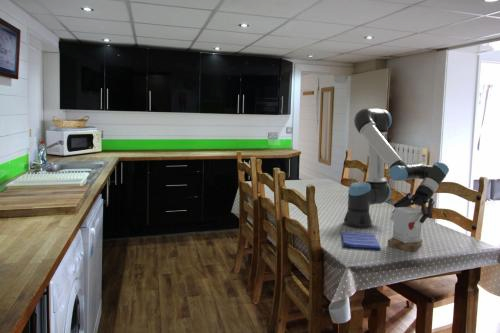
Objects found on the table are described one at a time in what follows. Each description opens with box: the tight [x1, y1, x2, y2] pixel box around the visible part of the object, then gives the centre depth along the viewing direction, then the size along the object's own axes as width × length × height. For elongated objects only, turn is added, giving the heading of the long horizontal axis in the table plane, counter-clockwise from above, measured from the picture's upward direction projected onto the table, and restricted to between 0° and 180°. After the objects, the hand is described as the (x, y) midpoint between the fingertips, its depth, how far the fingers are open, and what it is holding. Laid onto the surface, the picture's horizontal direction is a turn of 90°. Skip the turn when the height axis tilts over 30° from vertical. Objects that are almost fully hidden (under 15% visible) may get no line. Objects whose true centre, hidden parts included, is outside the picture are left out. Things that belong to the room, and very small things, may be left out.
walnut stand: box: [387, 236, 423, 253], centre depth 183 cm, size 12×12×3 cm
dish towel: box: [340, 229, 382, 251], centre depth 189 cm, size 17×24×3 cm
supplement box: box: [392, 206, 423, 243], centre depth 182 cm, size 9×9×15 cm
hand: (403, 223), depth 181 cm, fingers open, 13 cm apart
